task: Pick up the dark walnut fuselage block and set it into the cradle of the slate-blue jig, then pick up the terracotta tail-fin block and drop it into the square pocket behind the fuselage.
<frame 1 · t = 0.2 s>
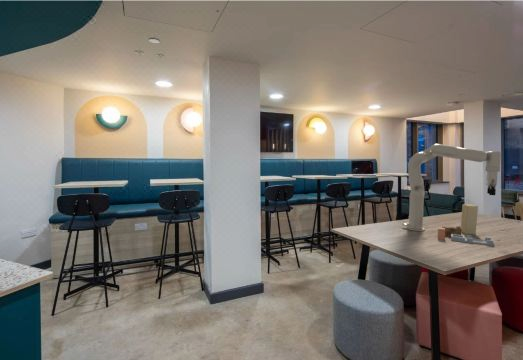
hand: (491, 194, 191), 31 cm above the table, fingers open, 9 cm apart
toy refrigerator: (468, 233, 207), on the table
tail fin: (441, 238, 194), on the table
fuselage: (451, 235, 201), on the table
jig: (471, 241, 186), on the table
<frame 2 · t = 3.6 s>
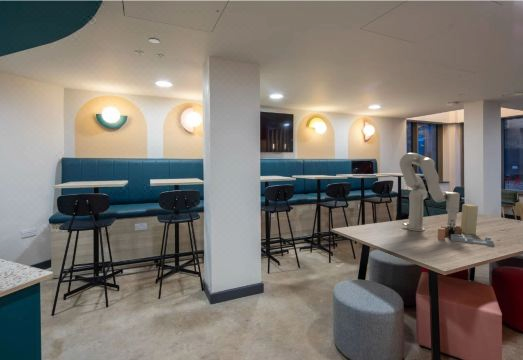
hand: (451, 234, 201), 1 cm above the table, fingers closed on fuselage, 5 cm apart
fuselage: (450, 235, 201), on the table, touching gripper
everything else where it was.
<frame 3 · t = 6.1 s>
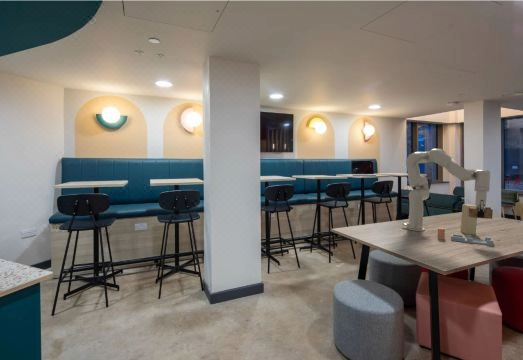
hand: (480, 216, 183), 18 cm above the table, fingers closed on fuselage, 5 cm apart
fuselage: (479, 217, 183), point 17 cm above the table, touching gripper
everything else where it was.
when the fingers open (4 cm above the table, at t = 9.1 s): fuselage drops 2 cm, resting on jig.
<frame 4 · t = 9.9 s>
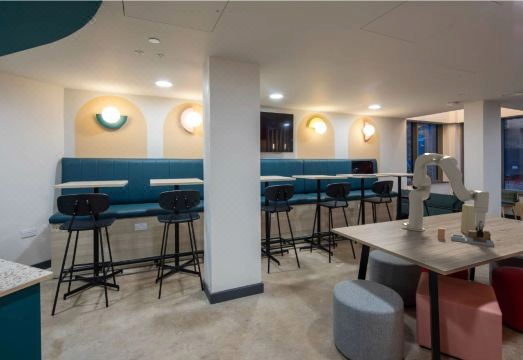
hand: (479, 235, 184), 5 cm above the table, fingers open, 9 cm apart
fuselage: (478, 240, 185), point 1 cm above the table, touching jig
everything else where it was.
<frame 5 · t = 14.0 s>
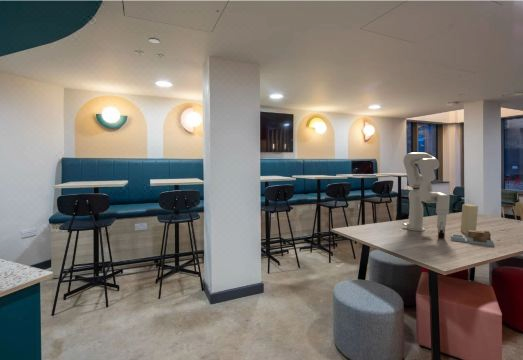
hand: (441, 237, 194), 1 cm above the table, fingers closed on tail fin, 4 cm apart
tail fin: (441, 238, 194), on the table, touching gripper
everything else where it was.
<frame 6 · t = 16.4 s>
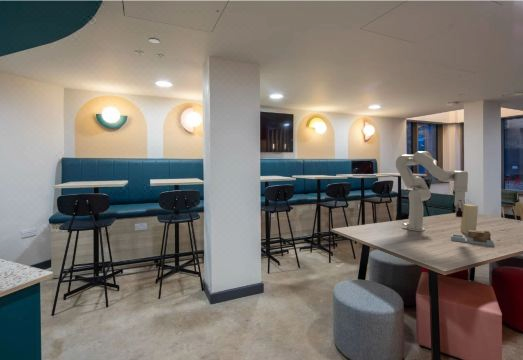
hand: (459, 215, 189), 16 cm above the table, fingers closed on tail fin, 4 cm apart
tail fin: (459, 216, 189), point 16 cm above the table, touching gripper
everything else where it was.
when the fingers open (3 cm above the table, at t = 19.0 s): tail fin drops 2 cm, resting on jig.
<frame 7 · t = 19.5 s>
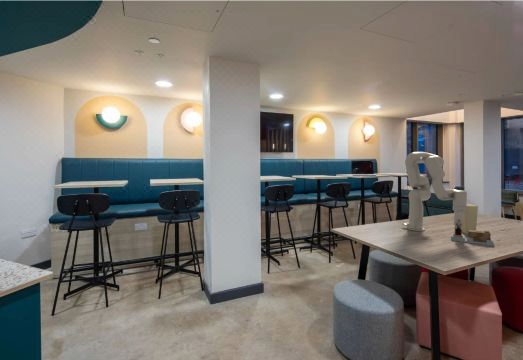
hand: (457, 233, 190), 4 cm above the table, fingers open, 9 cm apart
tail fin: (457, 238, 190), point 1 cm above the table, touching jig
everything else where it was.
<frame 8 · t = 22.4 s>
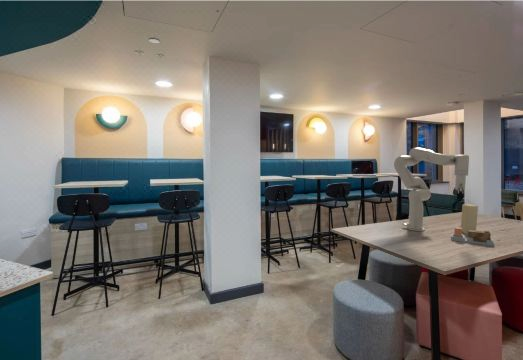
hand: (459, 198, 188), 28 cm above the table, fingers open, 9 cm apart
nothing on the table moved.
at the end: fuselage 0.6 cm from the target spot on the jig, point 1.0 cm above the jig's base; tail fin 0.0 cm from the target spot on the jig, point 1.0 cm above the jig's base; tail fin tilted 0° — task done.
